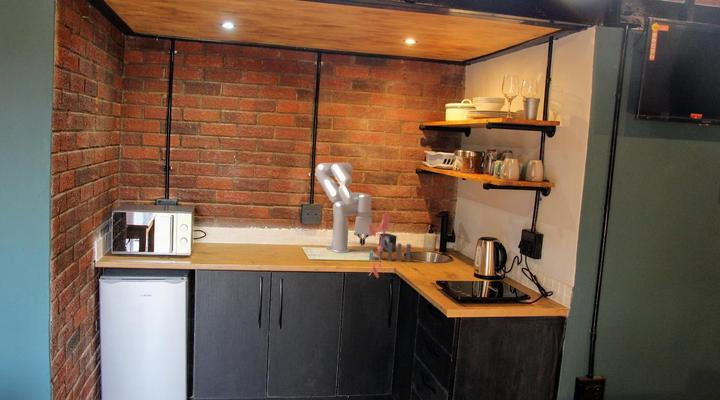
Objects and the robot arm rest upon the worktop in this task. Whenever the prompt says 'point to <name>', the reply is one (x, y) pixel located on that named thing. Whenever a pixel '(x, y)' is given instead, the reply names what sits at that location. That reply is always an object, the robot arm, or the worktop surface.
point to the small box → (388, 241)
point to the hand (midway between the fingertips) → (362, 245)
